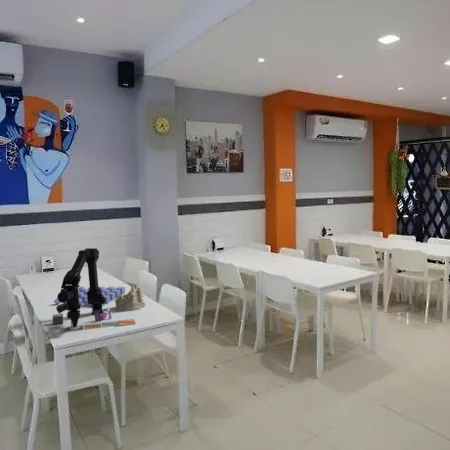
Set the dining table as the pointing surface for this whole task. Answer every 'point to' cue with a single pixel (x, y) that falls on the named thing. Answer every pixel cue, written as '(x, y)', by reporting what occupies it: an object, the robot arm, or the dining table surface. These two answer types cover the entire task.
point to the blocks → (108, 294)
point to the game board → (104, 325)
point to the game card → (102, 315)
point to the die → (57, 319)
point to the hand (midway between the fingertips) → (74, 326)
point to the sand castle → (130, 300)
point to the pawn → (74, 327)
